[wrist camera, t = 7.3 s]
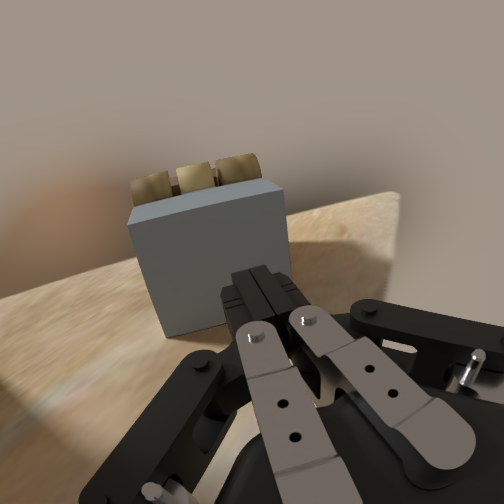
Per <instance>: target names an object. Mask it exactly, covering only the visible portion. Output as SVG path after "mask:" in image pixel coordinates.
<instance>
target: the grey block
mask: <svg viewBox="0 0 504 504" xmlns="http://www.w3.org/2000/svg"><path fill="white" fill-rule="evenodd" d="M176 171H177V176H178V181H179V186H180V190H181V195H180V196H176V197H171V198H167V199H163V200H159V201H155V202H151V203H147V204H144V205H140V206H136V207H134V208H133V210H132V213H131V216H130V218H129V222H128V224H127V227H128V230H129V234H130V237H131V240H132V243H133V247H134V250H135V253H136V256H137V259H138V262H139V266H140V269H141V271H142V274H143V277H144V280H145V283H146V286H147V289H148V292H149V294H150V297H151V300H152V303H153V305H154V308H155V311H156V313H157V316H158V318H159V321H160V324H161V326H162V329H163V331H164V334H165V336H166V338H169V337H173V336H177V335H181V334H185V333H190V332H194V331H198V330H202V329H206V328H209V327H213V326H217V325H221V324H225V323H227V322H226V318H225V314H224V310H223V305H222V301H221V297H220V294H221V290H222V287H226V286H229V285H233V283H232V278H231V273H234V272H237V271H241V270H245V269H249V268H252V267H256V266H260V265H264V264H265V265H266V266H267V268H268V269H269V271H270V272H271V273H272V274H273V273H277V272H280V273H282V274H284V275H287V276H288V277H289V278H290V279H291V280H292V276H291V264H290V253H289V242H288V231H287V221H286V212H285V202H284V192H283V189H282V188H280V187H278V186H277V185H275V184H273V183H272V182H270V181H268V180H266V179H264V178H259V179H254V180H249V181H244V182H239V183H234V184H229V185H224V186H219V187H215V183H214V179H213V174H212V170H211V167H210V164H209V162H204V163H200V164H195V165H190V166H185V167H181V168H177V169H176Z"/></svg>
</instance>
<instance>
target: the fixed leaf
mask: <svg viewBox="0 0 504 504" xmlns="http://www.w3.org/2000/svg"><path fill="white" fill-rule="evenodd" d="M211 170H212V174H213V179H214V183H215V187H219V186H224V185H229V184H234V183H239V182H244V181H249V180H254V179H259V178H262V175H261V170H260V166H259V163H258V160H257V158H256V156H255V155H254V154H253V153H252V154H246V155H240V156H235V157H230V158H224V159H219V160H216V168H213V169H211ZM131 194H132V199H133V203H134V207H136V206H140V205H144V204H147V203H151V202H155V201H159V200H163V199H167V198H171V197H176V196H180V195H181V190H180V186H179V181H178V176H177V177H173V178H169V174H168V171H165V172H161V173H156V174H152V175H148V176H144V177H141V178H137V179H133V180H131Z"/></svg>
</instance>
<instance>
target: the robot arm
mask: <svg viewBox="0 0 504 504" xmlns="http://www.w3.org/2000/svg"><path fill="white" fill-rule="evenodd" d="M231 278H232V283H233V285H229V286H226V287H222V290H221V294H220V297H221V301H222V305H223V310H224V314H225V318H226V322H227V325H228V328H229V330H230V333H231V336H232V339H233V341H232V343H231V344H230V345H229V346H228V347H227V348H226V349H225V350H223V351H221V352H220V353H218V354H217V353H216V352H214V351H211V350H198V351H195V352H192V353H190V354H188V355H187V356H186V357H185V358H184V359H183V360H182V361H181V362H180V364H179V365H178V366H177V368H176V369H175V370H174V372H173V373H172V374H171V376H170V377H169V378H168V380H167V381H166V382H165V384H164V385H163V386H162V387H161V389H160V390H159V391H158V393H157V394H156V395H155V397H154V398H153V399H152V401H151V402H150V403H149V405H148V406H147V407H146V408H145V410H144V411H143V412H142V414H141V415H140V416H139V418H138V419H137V420H136V421H135V423H134V424H133V425H132V427H131V428H130V429H129V431H128V432H127V433H126V434H125V436H124V437H123V438H122V440H121V441H120V442H119V444H118V445H117V446H116V447H115V449H114V450H113V451H112V453H111V454H110V455H109V456H108V458H107V459H106V460H105V462H104V463H103V464H102V465H101V467H100V468H99V469H98V471H97V472H96V473H95V474H94V476H93V477H92V478H91V480H90V481H89V482H88V483H87V485H86V486H85V487H84V488H83V490H82V491H81V493H80V496H79V504H199V503H198V501H197V499H196V498H195V497H194V496H193V495H192V492H193V491H194V489H195V487H196V486H197V484H198V482H199V481H200V479H201V477H202V476H203V474H204V472H205V471H206V469H207V467H208V465H209V464H210V462H211V460H212V458H213V457H214V455H215V453H216V451H217V450H218V448H219V446H220V444H221V443H222V441H223V439H224V437H225V435H226V433H227V432H228V430H229V428H230V426H231V424H232V422H233V421H234V419H235V417H236V415H237V410H238V409H239V408H241V407H243V406H244V405H246V404H247V403H249V402H250V401H252V405H253V408H254V412H255V416H256V419H257V423H258V426H259V430H260V433H259V434H258V435H256V436H255V437H254V438H252V439H251V440H250V441H249V442H248V443H247V444H246V445H245V446H244V448H243V449H242V450H241V452H240V453H239V455H238V456H237V458H236V460H235V462H234V464H233V466H232V469H231V471H230V473H229V475H228V477H227V479H226V481H225V483H224V485H223V487H222V489H221V491H220V493H219V495H218V497H217V499H216V501H215V503H214V504H504V327H501V326H496V325H491V324H486V323H481V322H475V321H471V320H466V319H461V318H456V317H452V316H447V315H442V314H437V313H432V312H428V311H423V310H419V309H414V308H409V307H405V306H400V305H396V304H391V303H387V302H382V301H378V300H373V299H364V300H359V301H357V302H355V303H354V304H353V305H352V306H351V309H350V313H346V314H337V315H329V314H328V313H327V312H326V311H325V310H324V309H323V308H321V307H318V306H313V305H311V304H310V303H309V302H308V300H307V299H306V298H305V297H304V295H303V294H302V293H301V292H300V290H299V289H297V287H296V285H295V284H293V282H292V280H291V279H290V278H289V277H288V276H287V275H284V274H282V273H280V272H277V273H273V274H272V273H271V272H270V271H269V269H268V268H267V266H266V265H265V264H264V265H260V266H256V267H252V268H249V269H245V270H241V271H237V272H234V273H231ZM383 339H385V340H389V341H393V342H397V343H401V344H406V345H410V346H413V347H414V348H415V349H416V350H417V352H416V353H407V352H403V351H399V350H395V349H391V348H387V347H383V346H382V343H383ZM289 359H291V361H292V363H293V366H292V365H291V363H290V361H289ZM312 400H313V401H312ZM313 402H314V403H315V405H316V406H317V408H315V405H314V403H313Z"/></svg>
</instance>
